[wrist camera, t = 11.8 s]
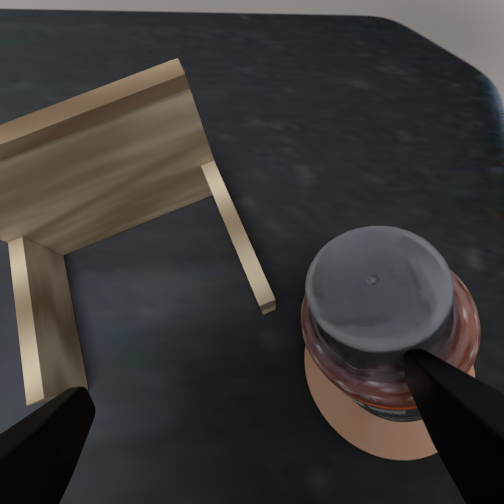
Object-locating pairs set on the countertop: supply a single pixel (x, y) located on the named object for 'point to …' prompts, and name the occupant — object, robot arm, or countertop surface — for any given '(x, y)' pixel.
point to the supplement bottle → (384, 315)
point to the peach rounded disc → (367, 421)
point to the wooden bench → (99, 201)
